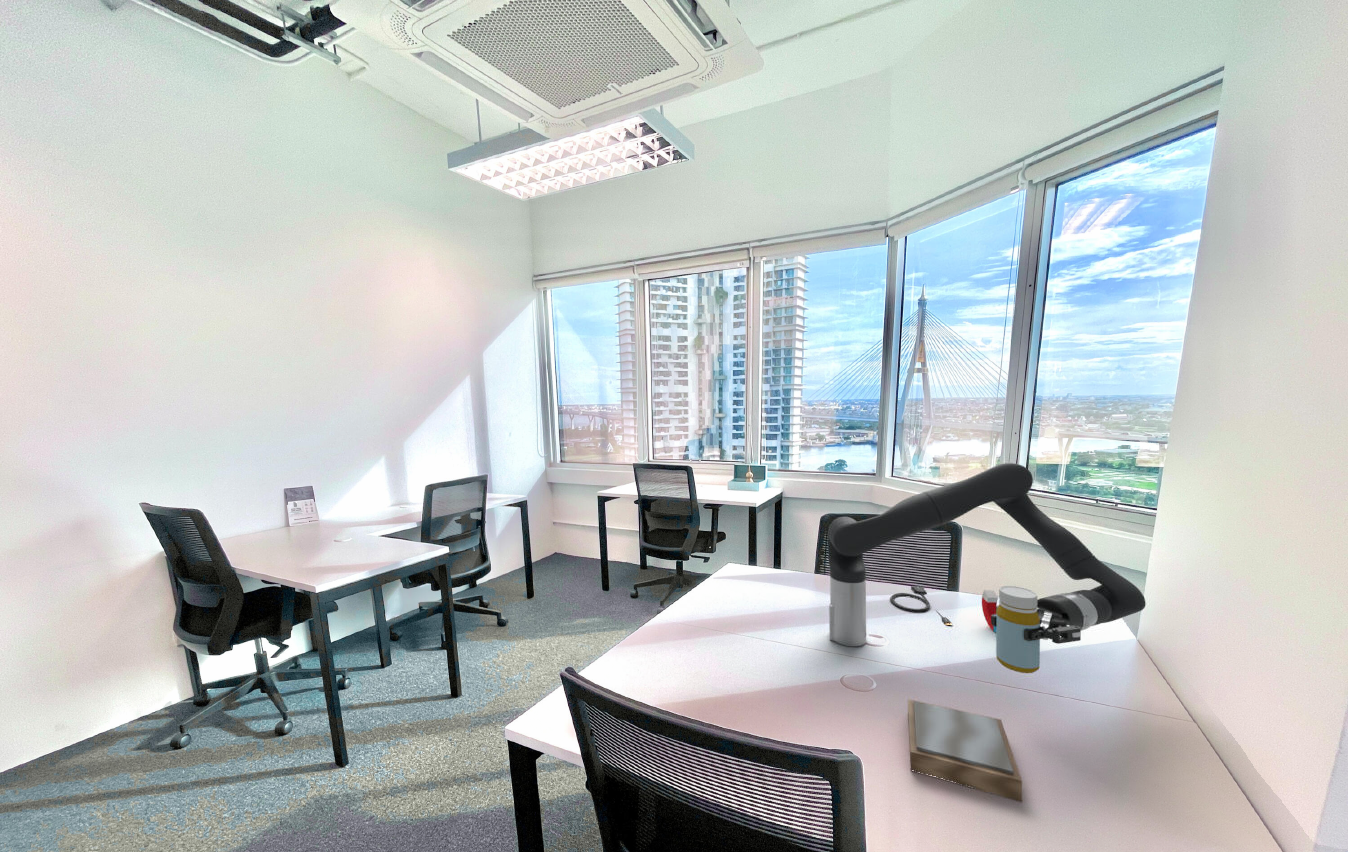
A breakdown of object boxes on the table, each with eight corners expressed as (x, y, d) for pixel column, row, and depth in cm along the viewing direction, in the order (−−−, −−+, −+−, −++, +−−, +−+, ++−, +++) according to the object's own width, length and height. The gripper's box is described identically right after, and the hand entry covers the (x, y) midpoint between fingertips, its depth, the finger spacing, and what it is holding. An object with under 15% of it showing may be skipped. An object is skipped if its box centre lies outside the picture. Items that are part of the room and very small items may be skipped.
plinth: (910, 770, 82) (910, 748, 82) (908, 715, 96) (907, 696, 96) (1021, 801, 75) (1021, 777, 75) (1001, 737, 89) (1001, 716, 89)
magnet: (1017, 642, 124) (1018, 605, 124) (1007, 642, 125) (1007, 605, 124) (991, 621, 136) (991, 588, 136) (981, 621, 136) (981, 588, 136)
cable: (902, 624, 137) (902, 619, 137) (881, 587, 165) (881, 583, 165) (953, 627, 134) (953, 622, 134) (923, 590, 162) (923, 585, 162)
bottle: (987, 656, 97) (988, 585, 96) (1019, 654, 97) (1019, 583, 97) (1015, 675, 90) (1015, 599, 89) (1048, 673, 91) (1049, 597, 90)
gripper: (1028, 583, 105) (974, 595, 99) (1106, 609, 91) (1048, 625, 86) (1028, 616, 105) (974, 630, 99) (1105, 647, 92) (1048, 665, 86)
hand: (1009, 628), depth 93 cm, fingers closed on bottle, 5 cm apart
